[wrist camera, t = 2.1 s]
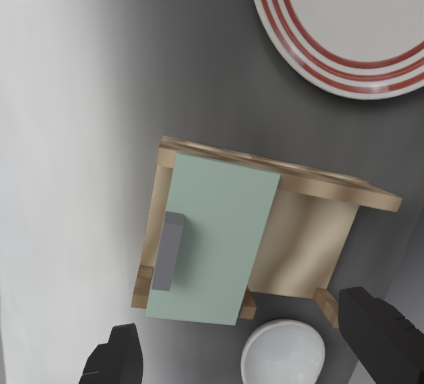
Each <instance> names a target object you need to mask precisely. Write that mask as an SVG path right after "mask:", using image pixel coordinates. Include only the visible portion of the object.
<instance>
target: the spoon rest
mask: <svg viewBox="0 0 424 384" xmlns="http://www.w3.org/2000/svg"><path fill="white" fill-rule="evenodd" d="M324 359H325V346H324V342H323V339H322V338H321V336H320V334H319V333H318V332H317V331H316V330H315V329H314V328H313V327H311V326H310V325H308V324H306V323H304V322H301V321H297V320H292V319H277V320H273V321H270V322H267V323H265V324H263V325H261V326H260V327H258V328H257V329H256V330H255V331H254V332H253V333H252V334H251V335H250V337H249V338H248V340H247V342H246V344H245V346H244V349H243V352H242V357H241V374H242V380H243V384H315V382H316V380H317V378H318V376H319V374H320V372H321V369H322V367H323V363H324Z"/></svg>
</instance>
